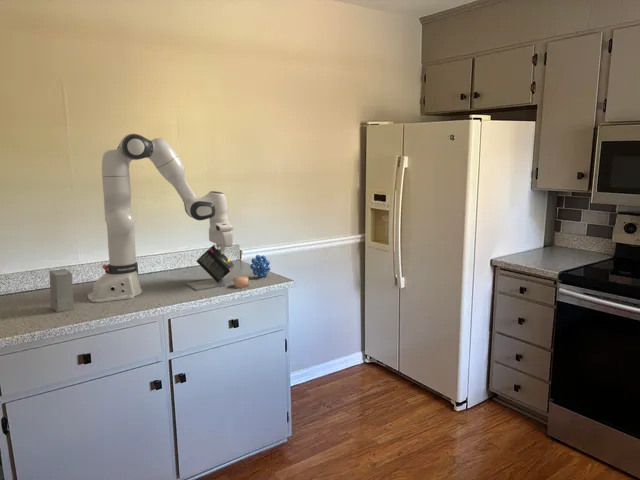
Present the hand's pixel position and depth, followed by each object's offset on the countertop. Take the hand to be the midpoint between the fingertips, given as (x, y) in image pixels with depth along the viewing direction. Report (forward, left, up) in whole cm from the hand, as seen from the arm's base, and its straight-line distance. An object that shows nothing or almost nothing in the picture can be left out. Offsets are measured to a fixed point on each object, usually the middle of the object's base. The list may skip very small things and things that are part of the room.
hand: (221, 253), depth 234 cm
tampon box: (+2, 0, -11) cm, 11 cm away
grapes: (+19, -4, -15) cm, 25 cm away
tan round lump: (+4, -12, -15) cm, 19 cm away
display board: (-9, 0, -15) cm, 17 cm away
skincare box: (-70, +1, -15) cm, 71 cm away
